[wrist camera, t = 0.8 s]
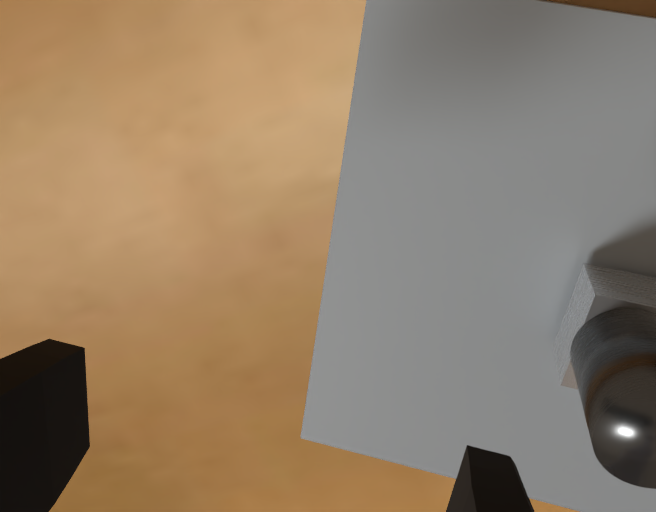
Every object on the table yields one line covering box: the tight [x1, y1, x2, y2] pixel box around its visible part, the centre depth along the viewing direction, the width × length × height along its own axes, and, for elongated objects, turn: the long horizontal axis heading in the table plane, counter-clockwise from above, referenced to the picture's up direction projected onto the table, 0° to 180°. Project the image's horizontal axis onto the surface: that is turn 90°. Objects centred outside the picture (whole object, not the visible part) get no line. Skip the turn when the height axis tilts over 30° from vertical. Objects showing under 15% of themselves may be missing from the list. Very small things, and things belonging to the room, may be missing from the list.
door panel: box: [301, 0, 656, 512], centre depth 14 cm, size 13×14×3 cm
